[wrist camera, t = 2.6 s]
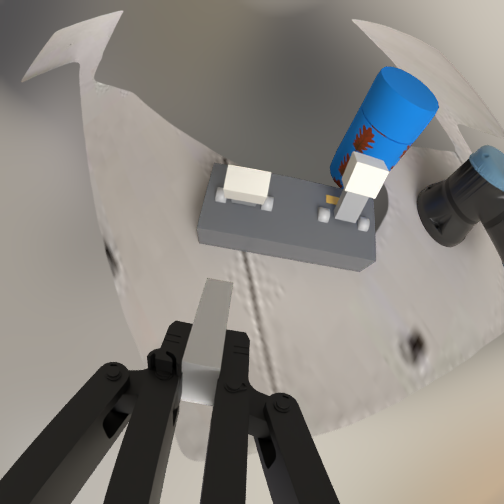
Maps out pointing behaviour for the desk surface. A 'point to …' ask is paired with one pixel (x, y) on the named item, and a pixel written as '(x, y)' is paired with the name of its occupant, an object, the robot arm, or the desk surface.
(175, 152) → the desk surface
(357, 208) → the inner lever
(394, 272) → the desk surface
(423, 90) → the thermos
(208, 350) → the robot arm
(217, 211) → the switch box
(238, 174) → the outer lever
